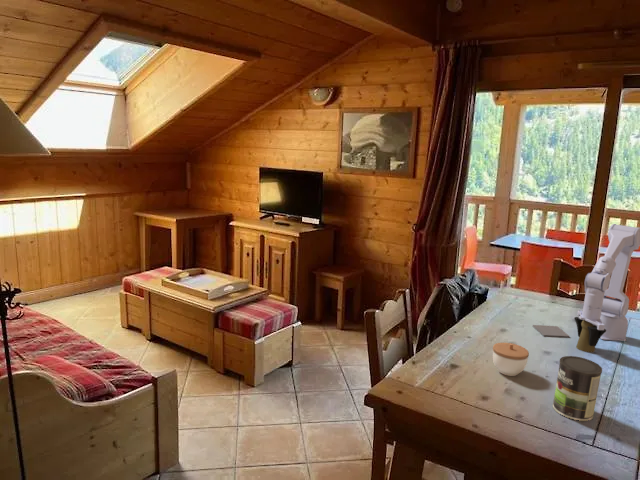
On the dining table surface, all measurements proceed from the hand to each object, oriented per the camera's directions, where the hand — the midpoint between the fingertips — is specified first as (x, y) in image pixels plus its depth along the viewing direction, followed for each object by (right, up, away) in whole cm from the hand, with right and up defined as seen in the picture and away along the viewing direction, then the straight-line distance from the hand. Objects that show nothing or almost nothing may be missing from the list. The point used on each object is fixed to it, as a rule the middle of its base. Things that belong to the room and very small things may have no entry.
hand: (586, 341), depth 174 cm
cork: (0, -3, +1) cm, 3 cm away
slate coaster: (-6, 0, +15) cm, 17 cm away
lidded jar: (-37, -6, -20) cm, 42 cm away
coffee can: (-27, -11, -41) cm, 50 cm away
